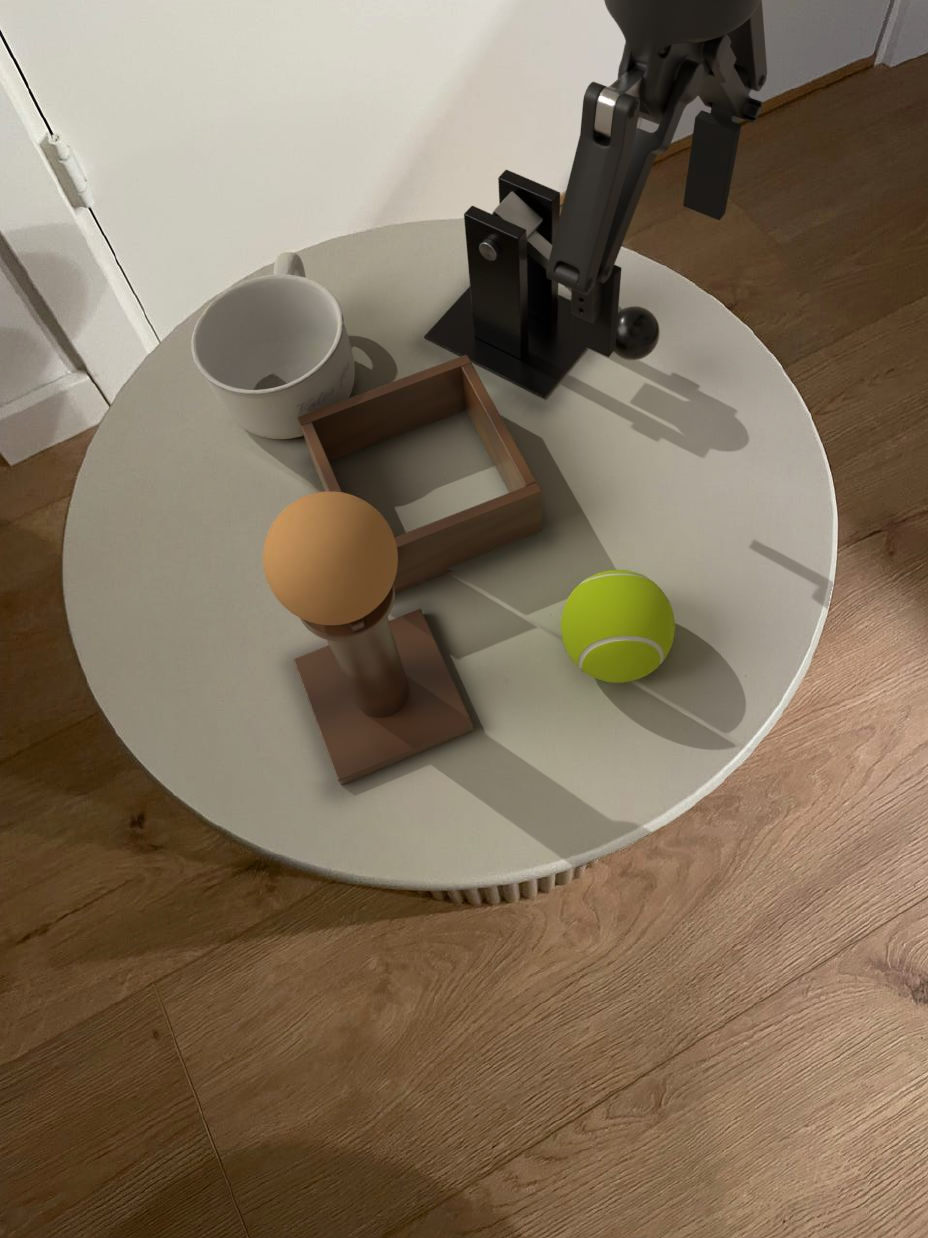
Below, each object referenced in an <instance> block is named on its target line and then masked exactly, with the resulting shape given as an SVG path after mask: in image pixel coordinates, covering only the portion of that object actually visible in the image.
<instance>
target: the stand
mask: <svg viewBox="0 0 928 1238" xmlns="http://www.w3.org/2000/svg"><path fill="white" fill-rule="evenodd" d="M395 599H396V594H395V589H394V584H393V585H392V587H391V589H390V591H389V593H388V595H387V596H386V598H385V599H384V600H383V601H382V603H381V604H380V605H379V606H378V607H377V608H376V609H374V610H373V611H372V612H370V613H369V614H368V615H366V616H364V617H363V618H361V619H358V620H356V621H353V622H350V623H347V624H342V625H321V624H315V623H312V622H308V621H306V620H304V619H301V618H299V620H300V621H301V623H302V624H303V626H304V627H305V628H306V629H307V630H308V631H309V632H311V633H312V634H313V635H314V636H316V637H318V638H321V639H323V640H326V641H327V644H328V645H326V646H323V647H321V648H320V647H319V648H318V649H315V650H313V651H310V652H308V653H306V654H303V655H300V656H298V657H295V658H293V664H294V666H295V669H296V671H297V674H298V677H299V679H300V682H301V684H302V688H303V690H304V694H305V695H306V698H307V701H308V704H309V707H310V709H311V712H312V714H313V717H314V721H315V723H316V725H317V729H318V731H319V734H320V736H321V738H322V742H323V745H324V748H325V750H326V753H327V755H328V759H329V761H330V764H331V767H332V769H333V771H334V774H335V777H336V781H337V782H338V784H339V785H340V786H343V785H345V784H347V783H350V782H353V781H355V780H358V779H360V778H362V777H364V776H367V775H369V774H372V773H374V772H377V771H380V770H381V769H384V768H386V767H389V766H391V765H394V764H397V763H398V762H401V761H403V760H405V759H408V758H410V757H412V756H415V755H418V754H420V753H422V752H425V751H427V750H429V749H432V748H434V747H437V746H440V745H441V744H444V743H446V742H449V741H451V740H453V739H456V738H458V737H461V736H463V735H466V734H468V733H471V732H473V731H474V730H475V729H474V724H473V722H472V720H471V717H470V715H469V713H468V710H467V708H466V705H465V704H464V701H463V699H462V697H461V695H460V692H459V690H458V688H457V686H456V683H455V681H454V679H453V677H452V675H451V672H450V670H449V668H448V666H447V663H446V661H445V659H444V657H443V655H442V652H441V650H440V648H439V646H438V643H437V641H436V639H435V637H434V635H433V632H432V630H431V628H430V625H429V623H428V621H427V618H426V617H425V613H424V612H423V610H422V609H421V608H419V609H416V610H414V611H410V612H408V613H406V614H403V615H400V616H397V617H395V618H393V619H391V620H389V616H390V615H391V612H392V609H393V607H394V604H395Z"/></svg>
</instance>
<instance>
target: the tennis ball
mask: <svg viewBox="0 0 928 1238" xmlns="http://www.w3.org/2000/svg"><path fill="white" fill-rule="evenodd" d="M675 633H676V620H675V614H674V609H673V608H672V605H671V602H670V600H669V599H668V596H667V595H666V594H665V592H664V591H663V590H662V588H661V587H660V586H659V585H658V584H657V583H656V582H655V581H653V580H651V579H650V578H649V577H647V576H645V575H644V574H642V573H639V572H635V571H632V570H627V569H609V570H604V571H600V572H597V573H595V574H592V575H590V576H589V577H587V578H585V579H584V580H582V581H581V582H580V583H579V584H577V585H576V586H575V588H574V589H573V590H572V592H571V593H570V594H569V596H568V597H567V599H566V602H565V604H564V606H563V609H562V613H561V618H560V634H561V640H562V643H563V646H564V649H565V652H566V653H567V656H568V657H569V659H570V660H571V661H572V663H573V664H574V665H575V666H576V667H577V668H578V669H580V670H581V672H583V673H584V674H586V675H588V676H589V677H592V678H594V679H596V680H599V681H602V682H605V683H606V682H607V683H615V684H621V683H622V684H623V683H629V682H633V681H636V680H639V679H642V678H644V677H646V676H648V675H649V674H651V673H652V672H654V671H655V670H656V669H658V668H659V667H660V665H662V663H663V662H664V661H665V659H666V658H667V657H668V655H669V653H670V651H671V648H672V646H673V643H674V638H675Z"/></svg>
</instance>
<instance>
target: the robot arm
mask: <svg viewBox="0 0 928 1238" xmlns="http://www.w3.org/2000/svg"><path fill="white" fill-rule="evenodd" d="M603 2H604V5H605V8H606V10H607V12H608V13H609V15H610V17H611V18H612V19H613V20H614V22H615V23H616V25H617V26H618V28H619V30H620V31H621V33H622V35H623V37H624V40H625V43H624V46H623V52H622V56H621V60H620V62H619V65H618V70H617V79H616V80H615V81H614V82H613V83H612V84H610V85H609V86H607V85H604V84H601V83H599V82H596V81H592V82H590V83H589V84H588V86H587V88H586V89H585V92H584V94H583V99H582V110H581V122H580V131H579V136H578V142H577V146H576V149H575V154H574V157H573V162H572V166H571V169H570V174H569V177H568V181H567V186H566V190H565V193H564V198H563V202H562V206H561V209H560V218H559V222H558V226H557V230H556V234H555V238H554V242H553V246H552V250H551V254H550V258H549V262H548V266H547V270H546V277H547V278H548V279H551V280H553V281H555V282H557V283H558V284H560V285H562V286H564V287H565V286H566V287H568V288H571V292H570V297H571V298H570V300H571V312H572V318H571V340H572V341H574V342H576V343H578V344H581V345H583V346H585V347H586V348H587V349H590V350H591V351H593V352H596V353H598V354H599V355H602V356H604V357H606V358H610V356H612V354H614V350H615V345H616V332H617V319H618V306H620V305H619V304H620V292H621V280H622V279H621V278H622V266H619V265H616V261H617V258H618V256H619V253H620V251H621V248H622V246H623V243H624V241H625V239H626V235H627V233H628V230H629V227H630V225H631V223H632V221H633V217H634V215H635V212H636V210H637V207H638V204H639V201H640V199H641V196H642V194H643V192H644V189H645V186H646V184H647V181H648V178H649V176H650V173H651V170H652V168H653V165H654V163H655V160H656V158H657V156H659V155H662V154H664V153H666V152H667V151H668V150H669V148H670V146H671V144H672V141H673V139H674V136H675V135H676V131H677V129H678V126H679V123H680V121H681V118H682V116H683V113H684V111H685V108H686V107H687V106H688V105H690V104H691V103H693V101H695V100H696V99H697V97H699V99H700V100H701V102H702V103H703V105H704V107H708V108H710V112H708V111H705V110H703V109H702V110H700V111H699V112H698V113H697V115H696V116H695V117H694V123H693V130H692V137H691V146H690V152H689V158H688V159H689V160H688V167H687V173H686V182H685V188H684V196H683V203H682V207H684V208H687V209H689V210H692V211H694V212H697V213H699V214H702V215H705V216H707V217H710V218H712V219H715V220H717V221H721V220H722V218H723V217H724V215H726V212H727V211H726V210H727V207H728V206H727V205H728V200H729V195H730V189H731V184H732V178H733V173H734V168H735V162H736V157H737V153H738V152H737V151H738V146H739V140H740V135H741V130H742V124H741V123H739V122H740V119H741V120H744V121H747V122H750V123H753V124H754V123H756V121H757V120H758V118H759V116H760V114H761V111H762V108H763V101H762V100H758V99H756V98H753V97H751V96H750V93H751V92H752V91H754V92H760V91H761V90H762V88H763V87H764V86H765V84H766V81H767V78H768V77H767V76H768V64H767V63H768V62H767V50H766V49H767V48H766V37H765V26H764V25H765V24H764V9H763V0H603ZM642 119H643V120H646V121H649V122H650V123H654V124H656V125H658V127H657V129H656V130H655V131H653V132H650V131H647V130H645V129H641V128H640V127H641V126H642V121H643V120H642ZM566 287H565V288H566Z"/></svg>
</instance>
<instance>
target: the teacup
mask: <svg viewBox="0 0 928 1238" xmlns="http://www.w3.org/2000/svg"><path fill="white" fill-rule="evenodd" d="M344 320H345V319H344V315H343V310H342V306H341V305H340V302H339V300H338V299H337V297H336V296H335V295H334V294H333V293H332V292H331V290H330V289H328V288H327V287H326V286H325V285H324V284H321V283H320V282H319V281H316V280H314V279H311V278H308V277H306V271H305V267H304V263H303V260H302V258H301V257H300V255H299V254H297V253H296V252H292V251H288V252H286V251H285V252H281V253H279V254H278V255H277V256H276V258H275V259H274V264H273V274H266V275H262V276H258V277H255V278H250V279H247V280H244V281H241V282H239V283H237V284H235V285H233V286H231V287H230V288H228V289H227V290H225V291H223V292H222V293H220V294H219V295H218V296H217V297H216V298H214V299H213V300H212V301H211V302H210V304H208V305H207V306H206V307H205V309H204V311H203V312H202V314H201V315H200V316H199V318H198V319H197V322H196V323H195V326H194V329H193V332H192V336H191V341H190V343H191V345H190V346H191V356H192V360H193V362H194V365H195V366H196V368H197V370H198V371H199V372H200V374H201V375H202V377H203V378H205V380H206V382H207V384H208V386H209V387H210V389H211V391H212V393H213V395H214V396H215V398H216V399H217V401H218V402H219V404H220V406H221V407H222V409H223V410H224V411H225V413H226V414H227V415H228V416H229V418H230V419H231V420H232V421H234V423H236V424H237V425H238V426H240V427H241V428H242V429H244V430H245V431H247V432H249V433H251V434H253V435H256V436H258V437H262V438H267V439H272V440H288V439H289V440H290V439H294V438H295V439H296V438H299V437H304V436H303V433H302V430H301V427H300V424H299V421H298V418H297V417H299V416H302V415H304V414H307V413H310V412H313V411H315V410H318V409H321V408H323V407H326V406H329V405H331V404H334V403H337V402H340V401H342V400H345V399H348V398H350V396H351V394H352V392H353V388H354V385H355V377H356V367H355V366H356V365H355V358H354V353H353V350H352V345H351V342H350V338H349V335H348V332H347V329H346V326H345V322H344ZM271 375H274V376H276V377H278V378H279V379H281V380H282V381H283V382H284V383H286V384H282V385H279V386H276V387H271V388H265V389H255V388H256V386H257V385H258V383H259V382H260V381H261V380H263V379H264V378H266V377H268V376H271Z"/></svg>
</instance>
